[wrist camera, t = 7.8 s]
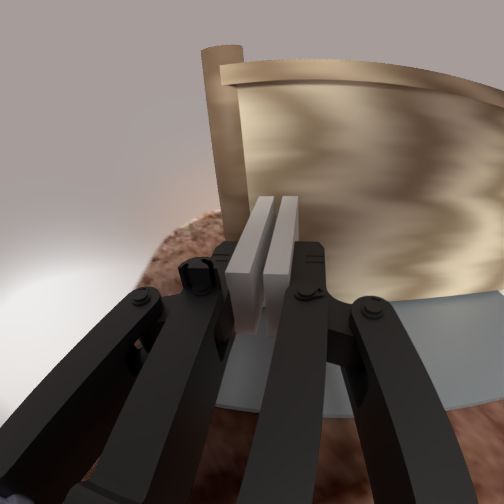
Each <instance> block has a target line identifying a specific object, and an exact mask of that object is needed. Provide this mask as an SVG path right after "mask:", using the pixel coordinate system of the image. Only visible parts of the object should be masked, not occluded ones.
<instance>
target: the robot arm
mask: <svg viewBox="0 0 504 504" xmlns="http://www.w3.org/2000/svg"><path fill="white" fill-rule="evenodd" d="M178 270H179V274H180V278H181V281H182V285H183V290H182V292H181V293H180V294H177V295H171V296H164V297H161V295H160V293H159V291H158V289H156V288H154V287H141V288H138V289H135V290H133V291H132V292H130V293H129V294H128V295H127V296H126V297H125V298H124V299H122V300H121V301H120V302H119V303H118V304H117V305H116V306H115V307H114V308H113V309H112V310H111V311H110V312H109V313H108V314H107V315H106V316H105V317H104V318H103V319H102V320H101V321H100V322H99V323H98V324H97V325H96V326H95V327H94V328H93V329H92V330H91V331H90V332H89V333H88V334H87V335H86V336H85V337H84V338H83V339H82V340H81V341H80V342H79V343H78V344H77V345H76V346H75V347H74V348H73V349H72V350H71V351H70V352H69V353H68V354H67V355H66V356H65V357H64V358H63V359H62V360H61V361H60V363H58V364H57V365H56V366H55V367H54V368H53V370H52V371H51V372H50V373H49V374H48V375H47V376H46V377H45V378H44V379H43V380H42V381H41V382H40V384H39V385H38V386H37V387H36V388H35V389H34V390H33V391H32V392H31V393H30V394H29V396H28V397H27V398H26V399H25V400H24V401H23V402H22V404H21V405H20V406H19V407H18V408H17V409H16V410H15V412H14V413H13V414H12V415H11V416H10V417H9V418H8V420H7V421H6V422H5V423H4V424H3V425H2V427H1V428H0V504H187V503H188V500H189V496H190V493H191V489H192V486H193V482H194V478H195V475H196V471H197V468H198V464H199V461H200V457H201V454H202V450H203V447H204V443H205V440H206V436H207V433H208V429H209V425H210V422H211V418H212V415H213V411H214V408H215V404H216V400H217V397H218V393H219V390H220V386H221V383H222V379H223V375H224V372H225V368H226V365H227V361H228V357H229V354H230V350H231V347H232V336H231V331H232V328H233V325H234V327H235V333H237V334H249V335H256V333H257V329H258V325H259V321H260V316H261V312H262V308H263V304H264V299H265V306H266V319H267V332H268V336H276V340H275V345H274V350H273V355H272V359H271V364H270V369H269V373H268V378H267V382H266V387H265V391H264V396H263V400H262V405H261V409H260V413H259V417H258V422H257V426H256V430H255V434H254V438H253V442H252V446H251V450H250V454H249V458H248V462H247V466H246V470H245V474H244V477H243V481H242V485H241V489H240V492H239V496H238V499H237V503H236V504H312V499H313V492H314V486H315V479H316V472H317V464H318V456H319V448H320V439H321V429H322V418H323V406H324V393H325V377H326V362H328V363H332V364H335V365H338V366H340V368H341V372H342V375H343V379H344V382H345V386H346V389H347V393H348V397H349V400H350V404H351V408H352V411H353V415H354V419H355V423H356V426H357V430H358V434H359V438H360V442H361V446H362V450H363V454H364V459H365V463H366V467H367V471H368V476H369V480H370V485H371V489H372V494H373V499H374V503H375V504H478V500H477V497H476V493H475V490H474V487H473V483H472V480H471V477H470V474H469V471H468V468H467V465H466V462H465V460H464V457H463V454H462V451H461V449H460V446H459V443H458V441H457V438H456V436H455V433H454V431H453V428H452V426H451V423H450V421H449V418H448V416H447V414H446V411H445V409H444V407H443V405H442V402H441V400H440V398H439V396H438V393H437V391H436V389H435V387H434V385H433V383H432V380H431V378H430V376H429V374H428V372H427V370H426V368H425V366H424V364H423V362H422V360H421V358H420V356H419V354H418V352H417V350H416V348H415V346H414V344H413V343H412V341H411V339H410V337H409V335H408V333H407V331H406V329H405V328H404V326H403V324H402V322H401V320H400V318H399V317H398V315H397V313H396V311H395V310H394V308H393V306H392V305H391V304H390V303H389V302H388V301H387V300H385V299H383V298H381V297H377V296H363V297H360V298H358V299H356V300H355V301H354V302H353V304H349V303H345V302H342V301H339V300H337V299H335V298H334V297H332V296H331V295H330V294H329V292H328V291H327V288H326V269H325V249H324V247H323V246H322V245H321V243H320V242H312V241H299V216H298V196H283V197H282V201H281V205H280V209H279V213H278V217H277V221H276V219H275V202H274V196H259V198H258V200H257V202H256V204H255V206H254V209H253V211H252V213H251V215H250V217H249V220H248V222H247V224H246V226H245V228H244V231H243V233H242V235H241V237H240V240H239V241H224V242H222V243H221V244H220V245H218V246H217V247H216V248H215V250H214V252H213V254H212V256H211V258H210V257H195V258H192V259H189V260H187V261H185V262H183V263H182V264H181V265H180V266H179V267H178ZM138 338H139V340H140V342H141V344H140V345H138V346H137V347H135V346H134V343H135V342H136V341H137V339H138ZM101 454H102V455H101ZM100 455H101V457H100V459H99V461H98V464H97V466H96V468H95V471H94V473H93V475H92V476H91V478H90V479H88V480H87V481H83V482H80V481H81V480H82V479H83V477H84V476H85V475H86V473H87V472H88V471H89V469H90V468H91V467H92V466H93V464H94V463H95V462H96V460H97V459H98V458H99V456H100ZM63 502H64V503H63Z"/></svg>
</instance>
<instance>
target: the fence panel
mask: <svg viewBox="0 0 504 504" xmlns="http://www.w3.org/2000/svg"><path fill="white" fill-rule="evenodd" d="M201 57H202V65H203V74H204V84H205V92H206V101H207V109H208V117H209V125H210V133H211V141H212V148H213V156H214V163H215V171H216V178H217V185H218V192H219V199H220V206H221V213H222V220H223V227H224V233H225V240H226V241H239V240H240V237H241V235H242V233H243V231H244V228H245V226H246V224H247V222H248V220H249V217H250V215H251V213H252V211H253V209H254V206H255V204H256V202H257V200H258V198H259V196H274V202H275V219H276V221H277V217H278V213H279V209H280V205H281V201H282V197H283V196H298V216H299V241H312V242H320V243H321V245H322V246H323V247H324V249H325V269H326V288H327V291H328V292H329V294H330V295H331V296H332V297H334V298H335V299H337V300H339V301H342V302H345V303H349V304H353V302H354V301H355V300H356V299H358V298H360V297H363V296H377V297H381V298H383V299H385V300H387V301H402V300H414V299H425V298H436V297H446V296H455V295H464V294H472V293H480V292H488V291H495V290H502V289H504V91H502V90H498V89H496V88H493V87H490V86H487V85H484V84H481V83H477V82H473V81H470V80H466V79H463V78H459V77H456V76H451V75H447V74H443V73H439V72H433V71H429V70H424V69H418V68H413V67H406V66H400V65H393V64H385V63H376V62H366V61H353V60H335V59H287V60H267V61H256V62H244V58H243V48H242V46H240V45H221V46H214V47H209V48H206V49H203V50H201ZM264 306H265V299H264V304H263V307H264Z"/></svg>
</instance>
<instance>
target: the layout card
mask: <svg viewBox="0 0 504 504" xmlns="http://www.w3.org/2000/svg"><path fill="white" fill-rule="evenodd" d="M388 302H389V303H390V304H391V305H392V306H393V308H394V310H395V311H396V313H397V315H398V317H399V318H400V320H401V322H402V324H403V326H404V328H405V329H406V331H407V333H408V335H409V337H410V339H411V341H412V343H413V344H414V346H415V348H416V350H417V352H418V354H419V356H420V358H421V360H422V362H423V364H424V366H425V368H426V370H427V372H428V374H429V376H430V378H431V380H432V383H433V385H434V387H435V389H436V391H437V393H438V396H439V398H440V400H441V402H442V405H443V407H444V409H445V411H448V410H455V409H460V408H466V407H471V406H476V405H481V404H485V403H490V402H494V401H498V400H502V399H504V289H502V290H495V291H488V292H480V293H472V294H464V295H455V296H446V297H436V298H425V299H414V300H402V301H388ZM275 340H276V336H268V332H267V319H266V306H264V307H263V308H262V312H261V316H260V321H259V325H258V329H257V333H256V335H249V334H237V333H236V336H235V339H234V342H233V345H232V348H231V352H230V355H229V358H228V361H227V365H226V368H225V372H224V375H223V379H222V383H221V386H220V390H219V393H218V397H217V400H216V404H215V407H220V408H226V409H233V410H239V411H247V412H254V413H260V409H261V405H262V400H263V396H264V391H265V387H266V382H267V378H268V373H269V369H270V364H271V359H272V355H273V350H274V345H275ZM323 418H354V415H353V411H352V408H351V404H350V400H349V397H348V393H347V389H346V386H345V382H344V379H343V375H342V372H341V368H340V366H338V365H335V364H332V363H328V362H326V377H325V393H324V406H323Z"/></svg>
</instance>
